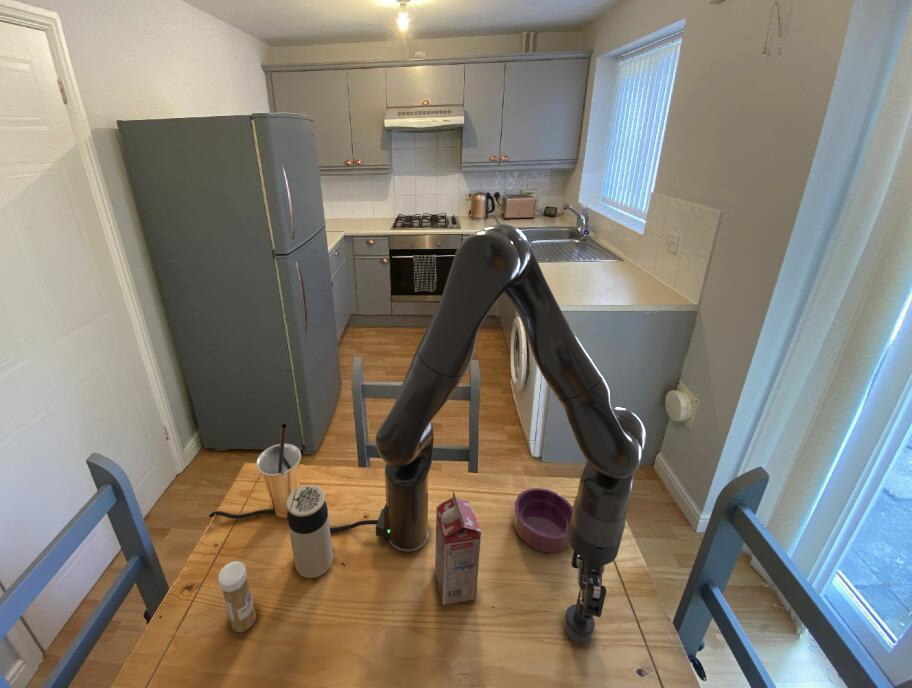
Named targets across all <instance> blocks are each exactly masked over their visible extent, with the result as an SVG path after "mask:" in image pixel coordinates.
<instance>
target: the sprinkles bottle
mask: <svg viewBox="0 0 912 688" xmlns="http://www.w3.org/2000/svg"><path fill="white" fill-rule="evenodd" d="M247 575H248V573H247V568H246V566H245V564H244V563H243V562H241V561H238V560H235V561H231V562H228V563H227V564H225V565H224V566H223V567H222V568H221V570H220V571H219V573H218V576H217V577H218V578H217V579H218V584H219V587H220V589H221V591H222V595H223V601H224V603H225V607H226V610H227V614H228V617H229V619H230V625H231V628H232V630H233V631H235V632H236V633H243V632H245V631H248V630H249V629H250V628H251V627H252V626H253V624H254V623H255V621H256V618H257V613H256V610H255V607H254V600H253V597H252V593H251V590H250V586H249V581H248V577H247Z"/></svg>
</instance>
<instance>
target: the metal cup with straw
mask: <svg viewBox="0 0 912 688" xmlns="http://www.w3.org/2000/svg"><path fill="white" fill-rule="evenodd" d="M286 432H287V424H286V423H283V424H281V431H280V442H279V443H278V444H274V445H272V446H269V447H268V448H266V449H264V450H263V451H262V452H261V453H260V454H259V456H258V457H257V460H256V468H257V470H258V472H260V474H261V477H262V480H263V484H264V486H265V488H266V492H267V495H268V497H269V501H270V503H271V507H272V509H273V510H274V511H275V513H276V514H274V515H275V516H277V517H278V518H283V519H284V518H285V519H286V518H287V512H288V509H287V505H286V503H287V499H288V497H289V495H290V494H291V493H292V492H293V491H294V490H295V489H297V488H299V487H301V486H300V485H301V470H300V469H301V467H300V466H301V465H300V462H301V459H302V453H301V450H300V449H299V447H298V446H296V445H294V444H291V443H286V442H285V441H286V434H287V433H286Z"/></svg>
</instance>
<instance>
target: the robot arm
mask: <svg viewBox="0 0 912 688" xmlns="http://www.w3.org/2000/svg"><path fill="white" fill-rule="evenodd" d="M503 293H504V294H505V295H506V297H507V298H508V299H509V301H510V302H511V304H512V305H513V307H514V309H515V311H516V312H517V314H518V316H519V318H520V321H521V323H522V326H523V329H524V330H525V335H526V337H527V340H528V344H529V347H530V350H531V354H532V356H533V359H534V361H535V364H536V365H537V368H538V370H539V371H540V373H541V375H542V376H543V378H544V380H545V382H546V383H547V385H548V386H549V388H550V389H551V391H552V392H553V394H554V395H555V397H556V398H557V400H558V401H559V403H560V404H561V406H562V407H563V409H564V411H565V415H566V418H567V421H568V423H569V426H570V429H571V431H572V433H573V436H574V438H575V441H576V443H577V445H578V448H579V450H580V452H581V453H582V455H583V457H584V458H585V460H586V463H585V465H584V468H583V469H582V472H581V474H580V478H579V483H578V487H577V493H576V496H575V498H574V501H573V504H572V507H573V508H572V514H571V518H570V523H569V529H568V541H569V544H570V546H569V547H570V548H571V549H572V551H573V553H572V558H571V567H572V568H573V569H577V585H578V587H579V589H580V588H581V594H580V601H579V606H578V610H577V611H578V616H579V617H581V618H584V619H588V620H591V619H592V618H594V617H596V618H601V617H602V613H603V608H604V604H605V600H606V594H607V588H606V586H605V585H603V574H604V573H605V566H607V565H609V564H610V563H612V562H614V561H615V560H616V558H617V556H618V554H619V550H620V546H621V542H622V540H623V535H624V531H625V528H626V522H627V512H628V508H629V504H630V501H631V497H632V489H633V483H634V482H633V481H634V477H635V474H636V472H637V470H638V469H639V466H640V465H641V461H642V457H643V453H644V448H645V445H646V440H647V432H646V428H645V425H644V423H643V421H642V420H641V418H639V416H637V414H635V413H634V412H633V411H631V410H629V409H627V408H624V407H619V406H615V407H612V406H611V390H610V386H609V384H608V382H607V381H606V379H605V377H604V376H603V374H602V373H601V371H600V370H599V368H598V367H597V365H596V364H595V363H594V361H593V359H592V358H591V356H590V355H589V353H588V352H587V350H586V349H585V347H584V345H583V344H582V343H581V341H580V340H579V338H578V337H577V334H576V333H575V331H574V330H573V329H572V327H571V325H570V323H569V321H568V320H567V318H566V317H565V315H564V313H563V311H562V309H561V308H560V305H559V303H558V301H557V300H556V297H555V295H554V294H553V291H552V290H551V288H550V286H549V284H548V281H547V279H546V278H545V276H544V273H543V271H542V269H541V266H540V264H539V262H538V259H537V257H536V254H535V253H534V251H533V249H532V246H531V245H530V242H529V241H528V239H527V238H526V236H525V234H524V233H523V232H522V231H521V230H520V229H518V228H517V227H515V226H512V225H510V224H505V223H501V224H499V223H498V224H494V225H491V226H487V227H485V228H483V229H480V230H478V231H476V232H474V233H472V234H470V235H469V236H467V237H466V238H465V239H464V240H463V241H462V243H461V244H460V245H459V246H458V248H457V250H456V252H455V253H454V256H453V259H452V262H451V265H450V268H449V272H448V275H447V279H446V282H445V284H444V288H443V291H442V295H441V297H440V300H439V303H438V304H437V308H436V309H435V311H434V313H433V315H432V317H431V319H430V320H429V323H428V325H427V327H426V329H425V332H424V334H423V336H422V338H421V339H420V341H419V344H418V346H417V348H416V350H415V352H414V355H413V357H412V359H411V362H410V364H409V367H408V369H407V372H406V374H405V377H404V379H403V381H402V383H401V387H400V388H399V391H398V394H397V397H396V400H395V401H394V404H393V406H392V408H391V409H390V411H389V413H388V414H387V415H386V417H385V419H384V420H383V422H382V423H381V425H380V426H379V428H378V430H377V432H376V435H375V447H376V450H377V452H378V454H379V456H380V458H381V459H382V460H383V461H384V462H385V466H384V483H385V484H384V487H385V488H384V490H385V504H384V507H383V508H381V510H380V514H379V516H378V518H377V519H365V520H359V521H356V522H353V523H351V524H345V525H341V526H334V527H330V533H334V532H335V533H336V532H341V531H347V530H351V529H354V528H357V527H360V526H365V525H375V536H376V537H379V538H384V542H387V543H389V545H390V546H391V547H392V548H393V549H395V550H396V551H398V552H401V553H413V552H417V551H419V550H420V549H422V548H424V547H425V544H426V543H427V541H428V538H429V473H430V470H431V468H432V464H433V456H434V441H435V435H434V427H433V423H432V421H433V419H434V418H435V417H436V416H437V415H438V413H439V412H440V411H441V410H442V409H443V408H444V406H445V405H446V404H447V402H448V401H449V400H450V398H451V397H452V396H453V394H454V393H455V391H456V390H457V389H458V387H459V385H460V384H461V382H462V381H463V378H464V377H465V375H466V373H467V372H468V369H469V368H470V365H471V363H472V361H473V358H474V355H475V354H474V353H475V349H476V344H477V343H476V342H477V336H478V333H479V330H480V328H481V326H482V324H483V323H484V320H485V319H486V317H487V316H488V314H489V312H490V311H491V309H492V308H493V306H494V305H495V304H496V303H497V301H498V300H499V299H500V297H501V296H502V295H503ZM215 514H216V515H215ZM265 514H273V515H275V514H276V513H275V511H274V510H273V508H272V509H270V508H269V509H268V508H267V509H266V508H265V509H261V510H260V509H259V510H255V511H252V512H247V513H241V514H240V513H239V514H235V513H230V512H226V511H221V510H215V511H212V512H211V513H210V514H209V515H208V518H214V517H215V516H221V517H225V518H230V519H235V520H236V519H237V520H239V519H245V518H250V517H255V516H258V515H265ZM583 576H584V577H586V578H591V583H588V582H584V581H583Z"/></svg>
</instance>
